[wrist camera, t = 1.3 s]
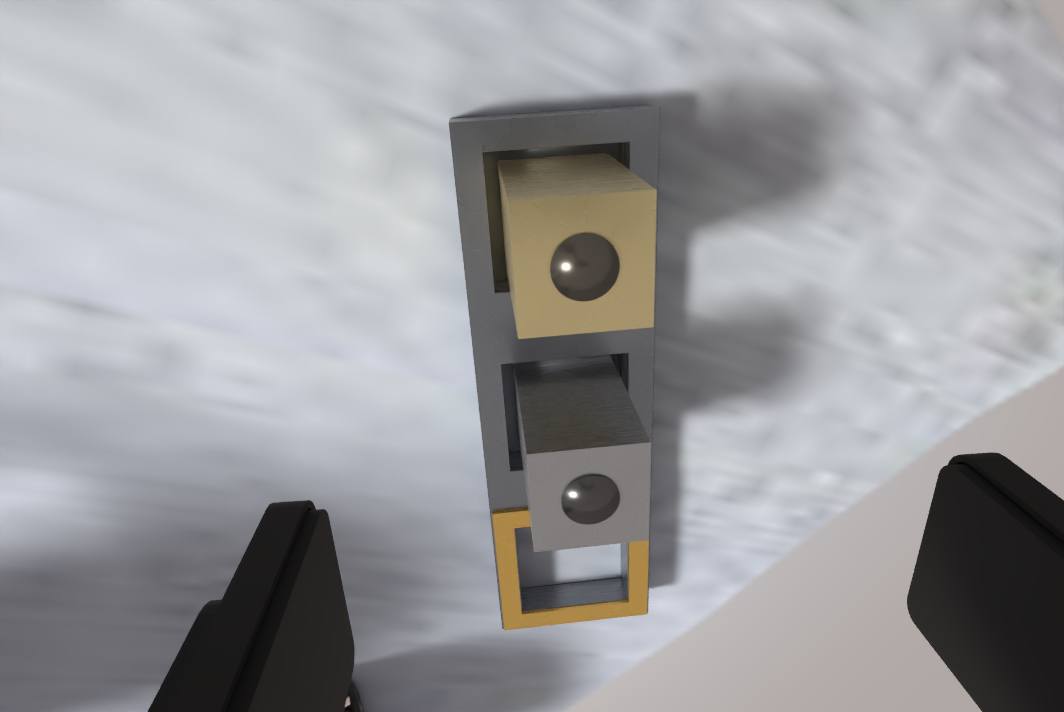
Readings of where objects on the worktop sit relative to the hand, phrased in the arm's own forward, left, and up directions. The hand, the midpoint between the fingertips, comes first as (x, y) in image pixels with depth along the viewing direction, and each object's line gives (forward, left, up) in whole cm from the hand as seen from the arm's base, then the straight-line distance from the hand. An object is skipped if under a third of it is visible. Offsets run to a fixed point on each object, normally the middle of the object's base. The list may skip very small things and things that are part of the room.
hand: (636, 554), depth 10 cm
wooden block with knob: (-1, +1, -20) cm, 20 cm away
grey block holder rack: (+8, +1, -20) cm, 22 cm away
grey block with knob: (+8, +1, -20) cm, 22 cm away
